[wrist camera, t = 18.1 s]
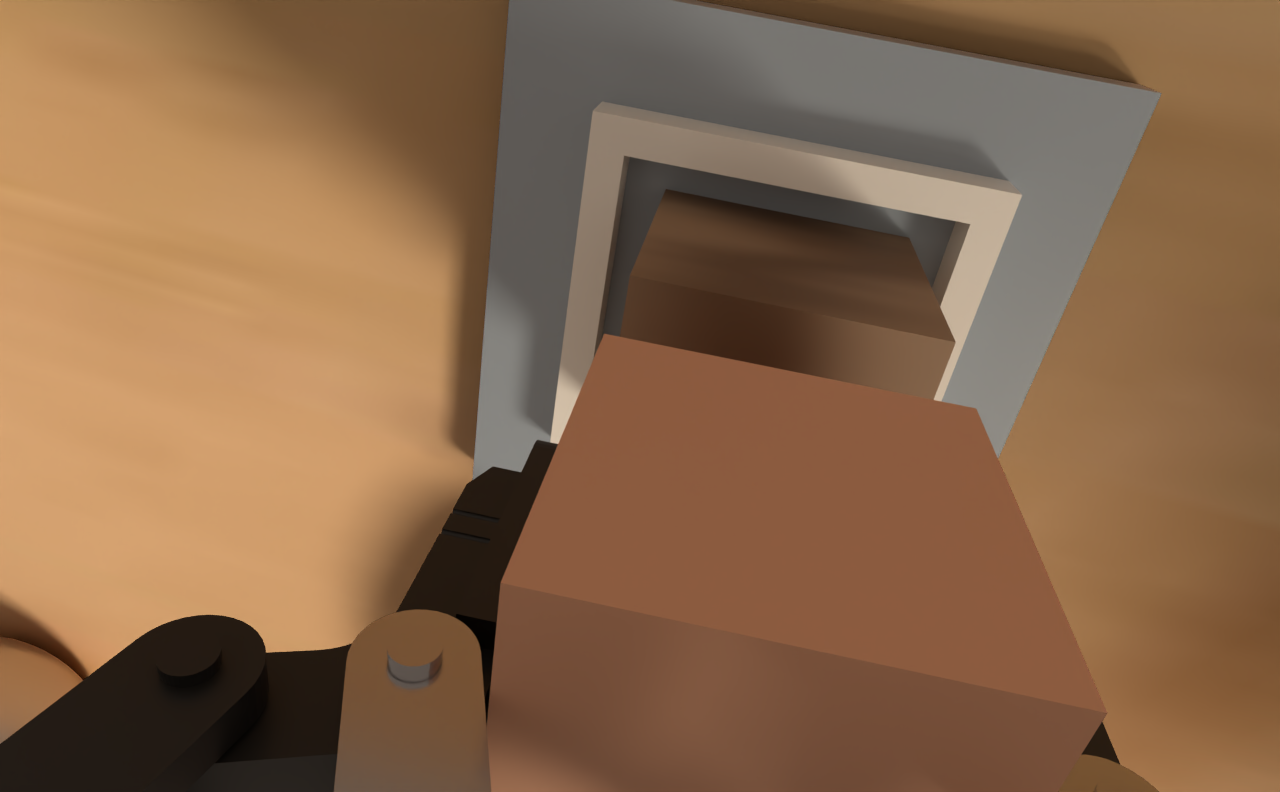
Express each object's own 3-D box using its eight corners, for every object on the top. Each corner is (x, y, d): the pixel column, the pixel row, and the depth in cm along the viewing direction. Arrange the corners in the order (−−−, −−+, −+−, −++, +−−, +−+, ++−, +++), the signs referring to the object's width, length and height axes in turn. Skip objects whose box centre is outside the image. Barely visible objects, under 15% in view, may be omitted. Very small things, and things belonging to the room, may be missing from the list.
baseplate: (1140, 84, 16) (1185, 103, 14) (932, 564, 22) (946, 618, 20) (525, -32, 17) (495, -28, 15) (483, 467, 22) (459, 512, 21)
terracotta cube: (975, 408, 11) (1108, 713, 7) (867, 673, 14) (912, 1022, 9) (604, 333, 11) (500, 582, 7) (563, 608, 14) (468, 917, 9)
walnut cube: (909, 237, 17) (955, 342, 13) (840, 443, 20) (860, 589, 15) (666, 188, 17) (630, 275, 13) (628, 399, 20) (587, 530, 15)
